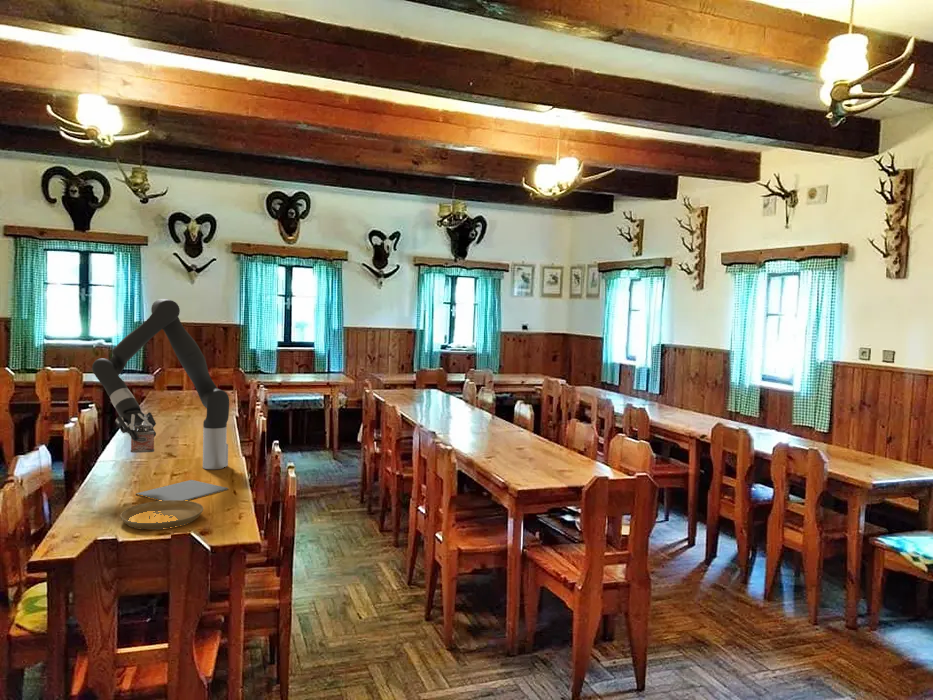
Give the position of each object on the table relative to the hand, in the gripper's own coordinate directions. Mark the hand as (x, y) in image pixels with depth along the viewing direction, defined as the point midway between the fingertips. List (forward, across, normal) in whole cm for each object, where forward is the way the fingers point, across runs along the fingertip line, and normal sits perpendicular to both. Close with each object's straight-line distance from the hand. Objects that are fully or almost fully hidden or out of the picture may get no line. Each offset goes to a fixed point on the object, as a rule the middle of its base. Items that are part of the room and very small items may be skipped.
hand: (145, 438), depth 253 cm
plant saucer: (+39, -20, -12) cm, 45 cm away
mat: (+24, +5, +3) cm, 24 cm away
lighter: (+3, 0, +5) cm, 6 cm away
